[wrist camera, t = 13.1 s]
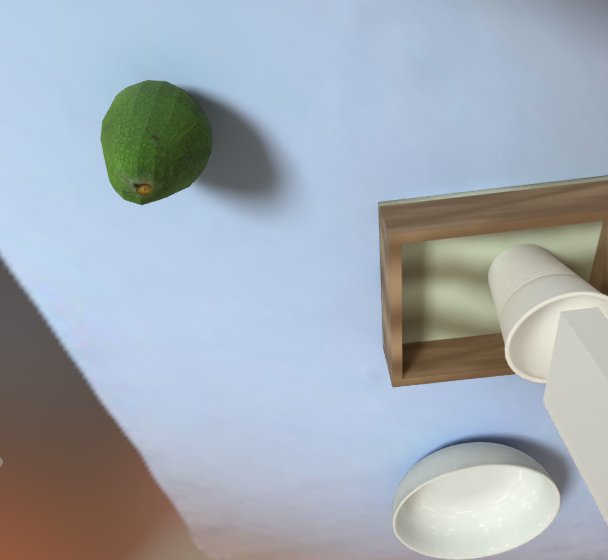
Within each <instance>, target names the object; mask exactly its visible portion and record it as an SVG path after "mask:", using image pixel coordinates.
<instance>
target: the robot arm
mask: <svg viewBox="0 0 608 560" xmlns="http://www.w3.org/2000/svg"><path fill="white" fill-rule="evenodd" d="M543 403H544V405H545V407H546V409H547V411H548V413H549V414H550V416H551V418H552V420H553V422H554V424H555V426H556V428H557V430H558V432H559V433H560V435H561V437H562V439H563V441H564V443H565V445H566V447H567V449H568V451H569V452H570V454H571V456H572V458H573V460H574V462H575V464H576V466H577V468H578V470H579V471H580V473H581V475H582V477H583V479H584V481H585V483H586V485H587V487H588V489H589V490H590V492H591V494H592V496H593V498H594V500H595V502H596V504H597V506H598V508H599V509H600V511H601V513H602V515H603V517H604V519H605V521H606V523H607V525H608V320H607V318H606V317H605V316H604V314H603V313H602V312H601V311H600V309H599V308H598V307H594V308H586V309H577V310H568V311H561V312H560V317H559V322H558V327H557V333H556V338H555V343H554V348H553V353H552V358H551V363H550V368H549V373H548V379H547V384H546V389H545V394H544V399H543ZM2 462H3V461H2V460H1V458H0V467H1V464H2Z"/></svg>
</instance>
